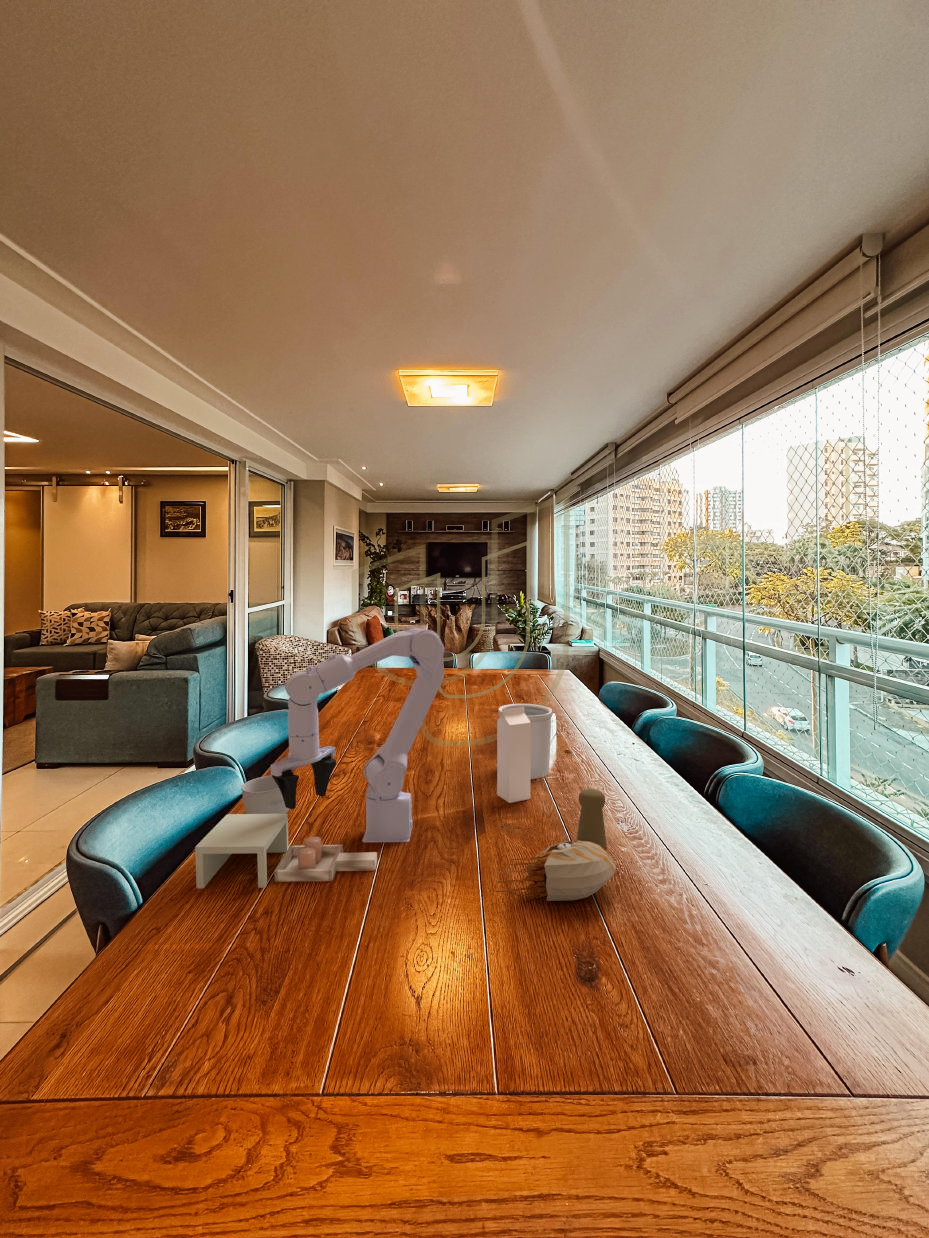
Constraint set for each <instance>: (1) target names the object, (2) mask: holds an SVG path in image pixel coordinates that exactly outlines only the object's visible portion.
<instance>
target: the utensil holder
mask: <svg viewBox="0 0 929 1238" xmlns="http://www.w3.org/2000/svg"><path fill="white" fill-rule="evenodd" d="M519 707H524V713H525V715H526V716H527V718H528V719H529V721H530V722H531V777H530V780H535V779H541V778H545V777H546V776H547V775H549V772H550V761H551V760H550V759H551V758H550V757H551V738H552V737H551V736H552V733H551V732H552V731H551V730H552V716H553V709H552V708H551V707H549V706H546V705H545V706H544V705H541V704H535V703H533V704H532V703H510V704H506V705H505V704H504V705H501V706H499V707H498V711H497V713H498V716H499V717H498V719H499V718H500V717H502V716H503V710H504V709H510V708H519Z"/></svg>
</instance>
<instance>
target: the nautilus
mask: <svg viewBox="0 0 929 1238" xmlns="http://www.w3.org/2000/svg"><path fill="white" fill-rule="evenodd" d="M517 860H518V862H515V863H506V864H505V865H508V866H519V865H520V866H521V865H527V866H526V868H522V869H521V870H510V871H509V870H506V871H499V872H495V874H505V873H522V874H526V873H527V875H526V876H525V877H523V878H522V879H509V880H495V882H496V883H501V884H508V883H511V884H513V883H523V884H524V885H526V886H525V887H522V888H521V887H520V888H508V889H507V890H493V891H494V892H495V893H496V892H499V893H507V892H509V893H510V892H511V893H513V894H512V895H509V896H507V898H511V897H513V896H523V897H529V898H526V899H524V900H523V902H525V901H527V900H530V899H534V898H541V897H546V901H547V902H551V901H552V902H553V901H557V902H558V901H576V900H581V899H586V898H588V897H590V896H592V895H594V894H595V893H596V892H598V891H599V890H600V889H601V888H603V886H605V885H606V884H607V883H608V882H609V881H610V880H611V879H612V878H613V876H614V874H615V872H616V868H617V866H616V863H615V861H614V859H613V858H612V857H611V856H610V855H609V854H608V852H607V851H606V849H603V848H602V847H601V846H599V845H597V844H595V843H592V842H586V841H577V840H573V841H572V840H567V841H562V842H559V843H556V844H552V845H551V844H550V845H549V846H547V847H545V848H544V849H543V850H540V851H539V853H537V855H535V856H532V857H529V858H528V857H527V858H526V857H525V858H520V857H519V858H511V859H509V861H517ZM519 861H521V862H519ZM523 861H530V862H523ZM525 882H532V883H529V884H527V883H525ZM535 889H537V890H535ZM531 890H533V891H531ZM518 891H523V892H519V893H518ZM527 893H533V894H527Z"/></svg>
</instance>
